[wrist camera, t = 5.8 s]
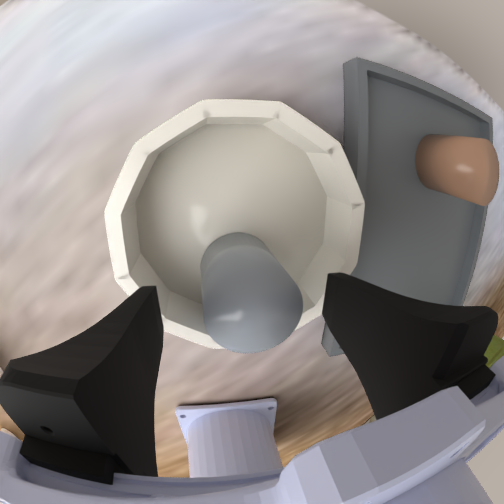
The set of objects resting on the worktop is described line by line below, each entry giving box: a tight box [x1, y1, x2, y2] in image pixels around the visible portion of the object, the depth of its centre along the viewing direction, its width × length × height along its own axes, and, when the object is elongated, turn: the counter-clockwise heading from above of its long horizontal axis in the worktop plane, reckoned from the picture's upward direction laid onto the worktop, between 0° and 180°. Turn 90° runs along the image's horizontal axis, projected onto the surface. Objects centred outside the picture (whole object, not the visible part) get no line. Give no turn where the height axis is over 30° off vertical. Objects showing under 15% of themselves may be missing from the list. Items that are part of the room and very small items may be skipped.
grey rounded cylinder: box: [200, 232, 303, 353], centre depth 12 cm, size 4×4×4 cm
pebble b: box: [415, 134, 499, 206], centre depth 12 cm, size 4×4×4 cm
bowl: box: [104, 99, 365, 349], centre depth 12 cm, size 11×11×3 cm
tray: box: [321, 57, 493, 357], centre depth 15 cm, size 18×14×2 cm
